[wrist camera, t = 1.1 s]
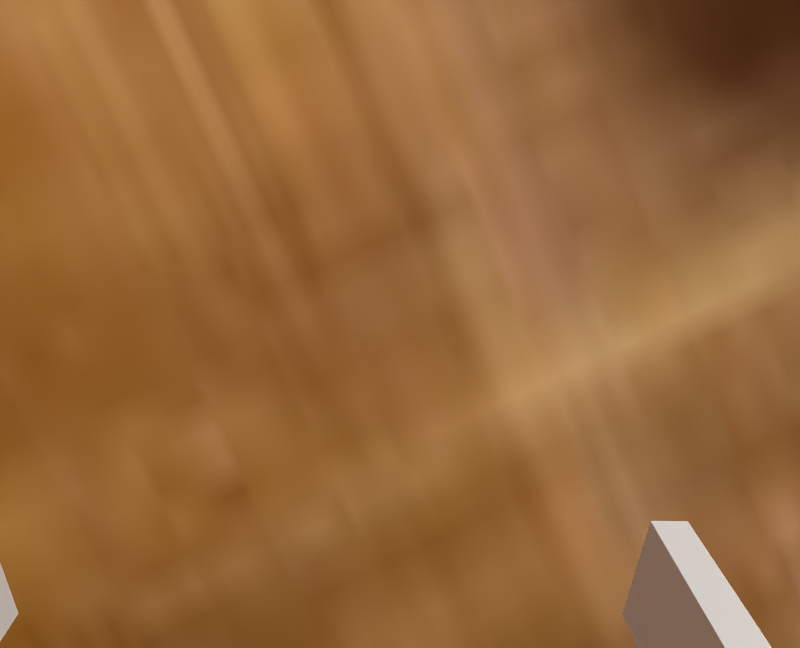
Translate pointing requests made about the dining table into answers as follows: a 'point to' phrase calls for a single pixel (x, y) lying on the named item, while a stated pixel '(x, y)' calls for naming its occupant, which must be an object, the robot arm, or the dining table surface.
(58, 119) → the dining table surface
